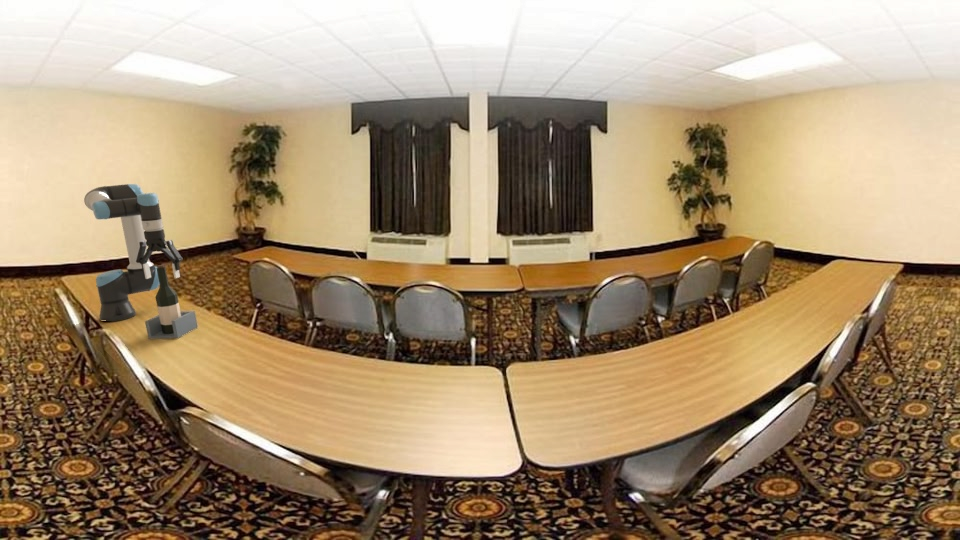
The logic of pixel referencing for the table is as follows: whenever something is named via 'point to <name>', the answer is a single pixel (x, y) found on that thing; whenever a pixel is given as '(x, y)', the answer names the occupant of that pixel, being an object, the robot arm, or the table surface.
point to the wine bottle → (166, 302)
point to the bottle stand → (179, 325)
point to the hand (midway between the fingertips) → (162, 277)
